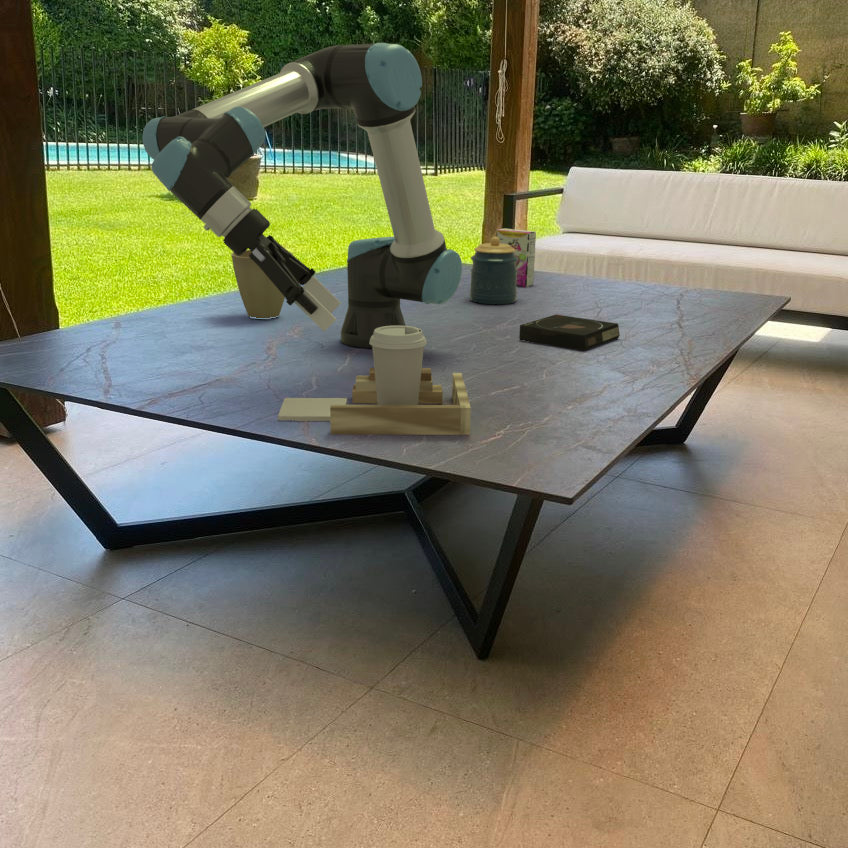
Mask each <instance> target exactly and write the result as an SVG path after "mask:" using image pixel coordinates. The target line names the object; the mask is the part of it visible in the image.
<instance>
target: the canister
mask: <svg viewBox="0 0 848 848" xmlns="http://www.w3.org/2000/svg"><path fill="white" fill-rule="evenodd" d="M473 249H474V252H475V253H474V254H473V255H472V256H471V257H470V260H471V261H472V267H471V268H470V291H469V297H470V301H471V302H473V301H474V303H476V302H478V303H477V304H481V303H484V304H483V305H495V304H497V305H508V304H509V305H510V304H512V303H515V302H516V301H517V297H518V295H517V294H518V292H517V287H518V286H517V272H518V270H517V269H516V262H517V261H518V258H517V257H516V256H515V255H514V252H515V251H516V250H515V249H514V248H512V247H511V246H510V245H508V244H500V239H499V238H498V237H497V236H491V238H490V242H489V243H481V244H479V245H478V246H476V247H474V248H473Z"/></svg>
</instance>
